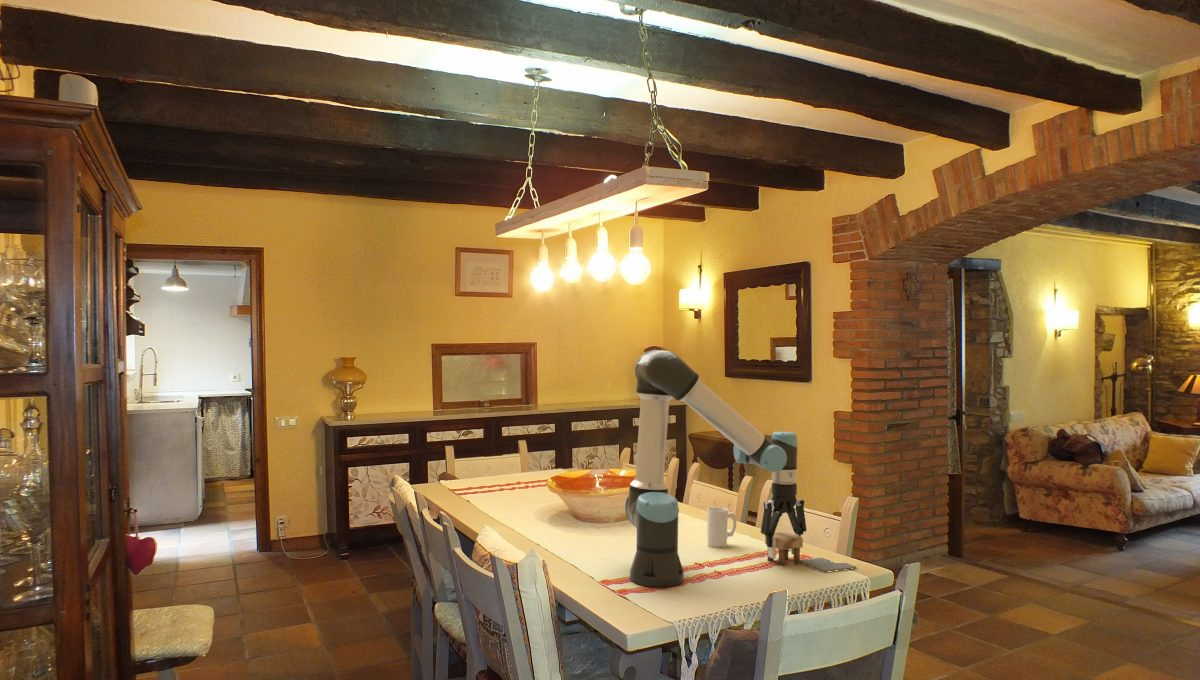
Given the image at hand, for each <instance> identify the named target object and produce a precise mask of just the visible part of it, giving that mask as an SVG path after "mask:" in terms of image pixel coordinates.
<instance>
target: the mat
mask: <svg viewBox="0 0 1200 680" xmlns="http://www.w3.org/2000/svg"><path fill="white" fill-rule="evenodd" d="M801 563H803V564H802V565H804V564H805V565H804V566H806V565H807V566H806V567H809V566H810V567H809V568H811V567H813V568H815V569H814V570H816V569H818V570H820V571H819V572H821V571H823V572H828V571H835V570H843V571H845V570H844V569H851V568H856V569H857V566H856V565H852V564H850V563H847V562H845V563H834V562H831V561H830V560H827V559H824V558H822V557H816V558H807V559H800V564H801ZM813 568H812V569H813ZM818 570H817V571H818ZM851 570H852V569H851ZM823 572H822V573H823ZM835 572H836V571H835ZM828 573H829V572H828Z"/></svg>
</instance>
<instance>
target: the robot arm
mask: <svg viewBox="0 0 1200 680" xmlns="http://www.w3.org/2000/svg"><path fill="white" fill-rule="evenodd" d="M634 373H635V378H636V392H635V394H636V395H637V396H638V397H639V399H640V405H639V409H640V410H639V420H638V421H639V422H638V434H637V435H638V436H637V446H636V447H637V448H636V450H637V451H636V460H635V461H636V464H635V475H634V476H635V477H634V479H632V481H630V483H629V488H628V495H627V497H626V499H625V502H624V503H625V504H624V511H625V515H626V517H627V519H628V521H629V522H630V523H631V524H632V526H634V527H635V528H636V549H635V551H636V552H635V554H634V558H633V559H632V560H633V561H632V564H631V566H630V570H629V579H630V581H631V582H632V583H635V584H637V585H640V586H645V587H651V588H652V587H654V588H667V587H674V586H677V585H680V584H682V583H684V580H685V577H684V576H685V572H684V569H683V566H682V563H681V559H680V556H679V548H678V545H679V513H680V508H679V502H678V499H677V498H676V497H675V496H674V495H672V494H671V493H670V494H669V493H668V492H669V485H667V483H665V481H664V480H665V479H664V478H665V477H664V476H665V468H666V467H665V466H666V464H665V463H666V454H667V453H666V450H667V436H668V424H669V423H668V422H669V413H670V412H669V410H670V401H672V400H673V399H675V400H676V401H677V402H683V403H685V404H686V405H687V406H688V407H689V408H690V409H692V410H693V411H694V412H696V414H698V416H700V417H701V418H702V419H704V420H705V421H707V423H708V424H710V426H712V427H713V428H714V429H715V430H717V431H718V432H719V433H721V434H722V435H723V436H724V437H725V438H726V439H727V440H729V441H730V442H731V443H732V444H733V457H734V460H735V462H736V463H738V464H745V465H747V464H752V465H754V466H757V467H758V468H761V469H764V470H765V471H766V472H771V480H772V482H771V494H772V499H771V500H770V501H766V500H765V501H763V509H764V510H763V516H762V520H761V521H762V522H761V526H760V527H761V528H760V534H762V535H764V536H765V535H766V537H767V544H765V545H766V547H767V558H768V557H770V558H773V559H777V558H776V557H777V556H776V555H777V554H776V551H777V548H776V537H774V533H776V529H777V527H778V525H779V521H780V519H781V517H782V516H783V514H785V513H786V514H787V516H788V517H787V518H788V519H789V522H790V525H791V527H792V530H793V532H791V534H794V535H797V536H799V537H802V535H804V532H806V531H807V524H806V523H807V522H806V516H805V507H804V506H805V500H803V499H801V498H797V497H796V496H797V494H798V490H797V489H798V484H797V481H798V449H799V447H798V436H797V433H795V432H792V431H781V430H780V431H773V433H772V435H771V437H770V438H768V437H767V436H765V435H764V434H763V433H762V432H761V431H760V430H758V429H757V428H756V427H755V426H754V425H752V424H751V423H750V422H749V421H748V420H746V419H745V417H743V416H742V415H741V414H740V413H738V412H737V411H736V410H735V409H734V408H733V407H732V406H731V405H729V404H728V403H727V402H725V400H723V399H722V398H721V397H720V396H718V395H717V394H716V393H715V392H714V391H712V389H710V388H709V387H708V386H707V385H705V384H704V383H703V382H702V381H701V379H700V378H701V377H700V374H698V373H697V372H696V371H695V370H694V369H693V368H691V366H689V365H688V364H687V362H686V361H684V360H683V359H682V358H681V357H680V356H679V355H678V354H676V353H675V352H673V351H671V350H665V349H661V350H660V349H652V350H648V351H646V352H645V353H643V354H642V355H640V357H639V358H638V359H637V361H636V363H635V367H634ZM790 550H791V553H790V554H791V555H792V556H794V549H790Z"/></svg>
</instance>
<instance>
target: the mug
mask: <svg viewBox="0 0 1200 680" xmlns="http://www.w3.org/2000/svg"><path fill="white" fill-rule="evenodd" d="M706 509H707V511H706V512H707V515H706V516H707V517H706V519H707V520H706V521H707V545H708V546H709V547H711V548H717V549H720V548H721V547H722V548H726V547H727V546H728V545H727V544H728V543H727V542H728V541H727V540H728V538H729V537H734V533H735V531H736V528H737V519H736V517H735V513H734V511H731V512H728V511H729V510H728V508H725V507H718V506H712V507H707V508H706ZM729 518H731V520H732V527H731V530H730V531H728V520H729Z"/></svg>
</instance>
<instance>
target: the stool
mask: <svg viewBox="0 0 1200 680" xmlns="http://www.w3.org/2000/svg"><path fill="white" fill-rule="evenodd" d="M764 537H765V538H764V544H765V545H766V544H767V537H766V535H764ZM774 537H776V550H778V566H779V565H781V566H780V567H785V566H784V565H785V564H786V563H785V561H786V560H788V559H789V550H791V549H794V555H793V564H794V563H795V565H800V564H801V563H800V560H801V556H800V555H801V549H802V548H803V547H804V546H803V537H802V536H801V537H799V536H797V535H794V534H792V532H788V531H781V532H775V533H774ZM773 560H774V559H773V558H770V557H768V556H767V562H774V561H773Z"/></svg>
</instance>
